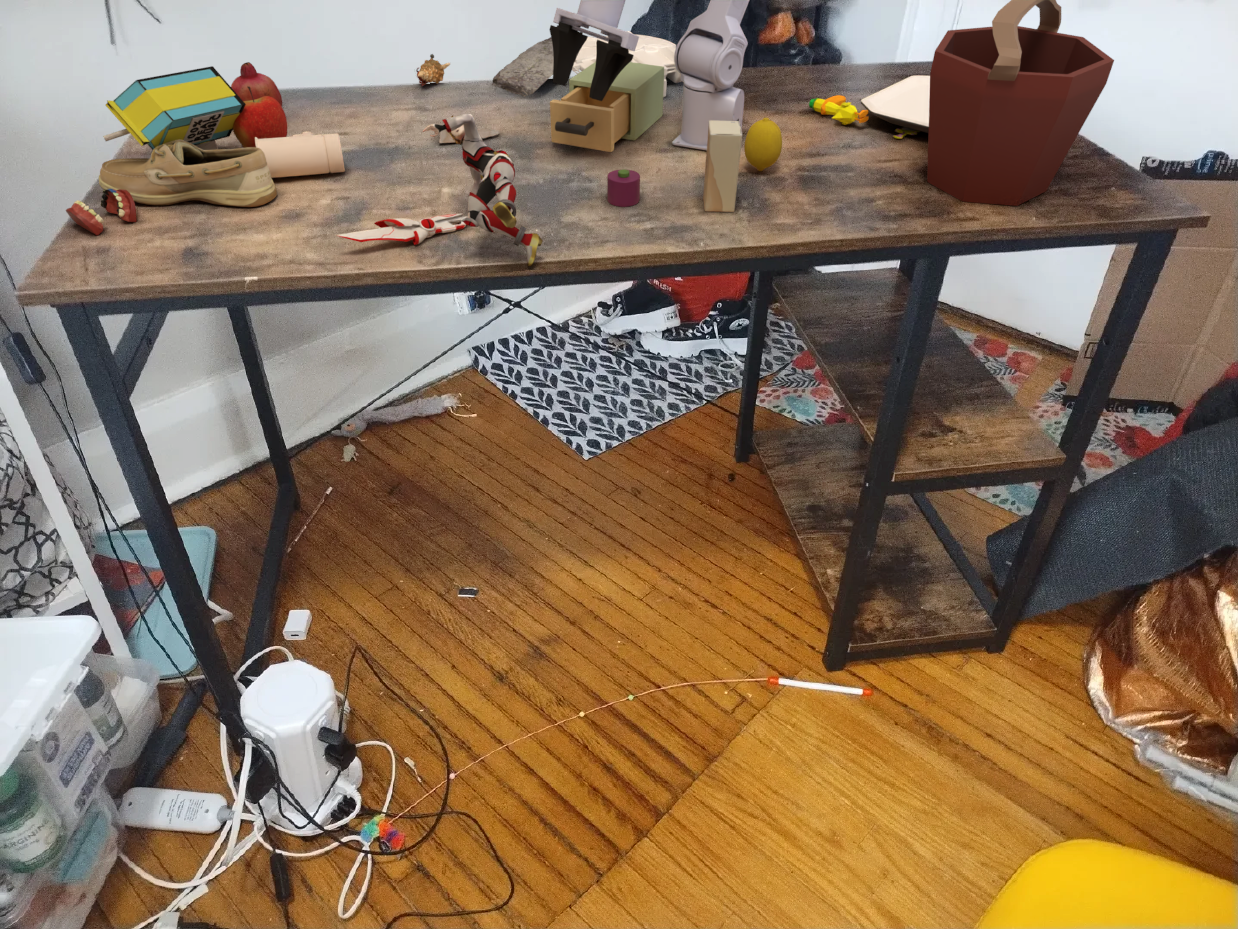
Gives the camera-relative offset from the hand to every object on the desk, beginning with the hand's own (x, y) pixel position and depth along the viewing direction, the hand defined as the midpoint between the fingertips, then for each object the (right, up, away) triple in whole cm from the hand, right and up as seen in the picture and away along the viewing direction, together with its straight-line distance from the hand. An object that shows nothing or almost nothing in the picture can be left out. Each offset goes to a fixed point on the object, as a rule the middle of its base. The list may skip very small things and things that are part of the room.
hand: (577, 91), depth 123 cm
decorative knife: (+54, +5, +26) cm, 60 cm away
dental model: (-66, -20, -7) cm, 70 cm away
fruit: (-54, +4, +24) cm, 59 cm away
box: (+20, -15, +2) cm, 25 cm away
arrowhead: (-24, +1, +20) cm, 31 cm away
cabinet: (+6, +6, +27) cm, 28 cm away
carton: (-54, +2, +9) cm, 55 cm away
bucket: (+60, -10, +9) cm, 61 cm away
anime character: (-10, -31, -18) cm, 37 cm away
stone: (-4, +22, +44) cm, 49 cm away
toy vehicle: (+8, +26, +40) cm, 49 cm away
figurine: (-31, +23, +37) cm, 54 cm away
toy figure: (+47, +6, +23) cm, 52 cm away
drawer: (+1, 0, +19) cm, 19 cm away
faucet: (-48, -6, +8) cm, 49 cm away
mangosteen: (+7, -14, +3) cm, 16 cm away
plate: (+64, +7, +28) cm, 70 cm away
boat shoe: (-55, -14, +4) cm, 57 cm away
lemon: (+27, -7, +12) cm, 31 cm away
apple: (-49, -4, +15) cm, 51 cm away
